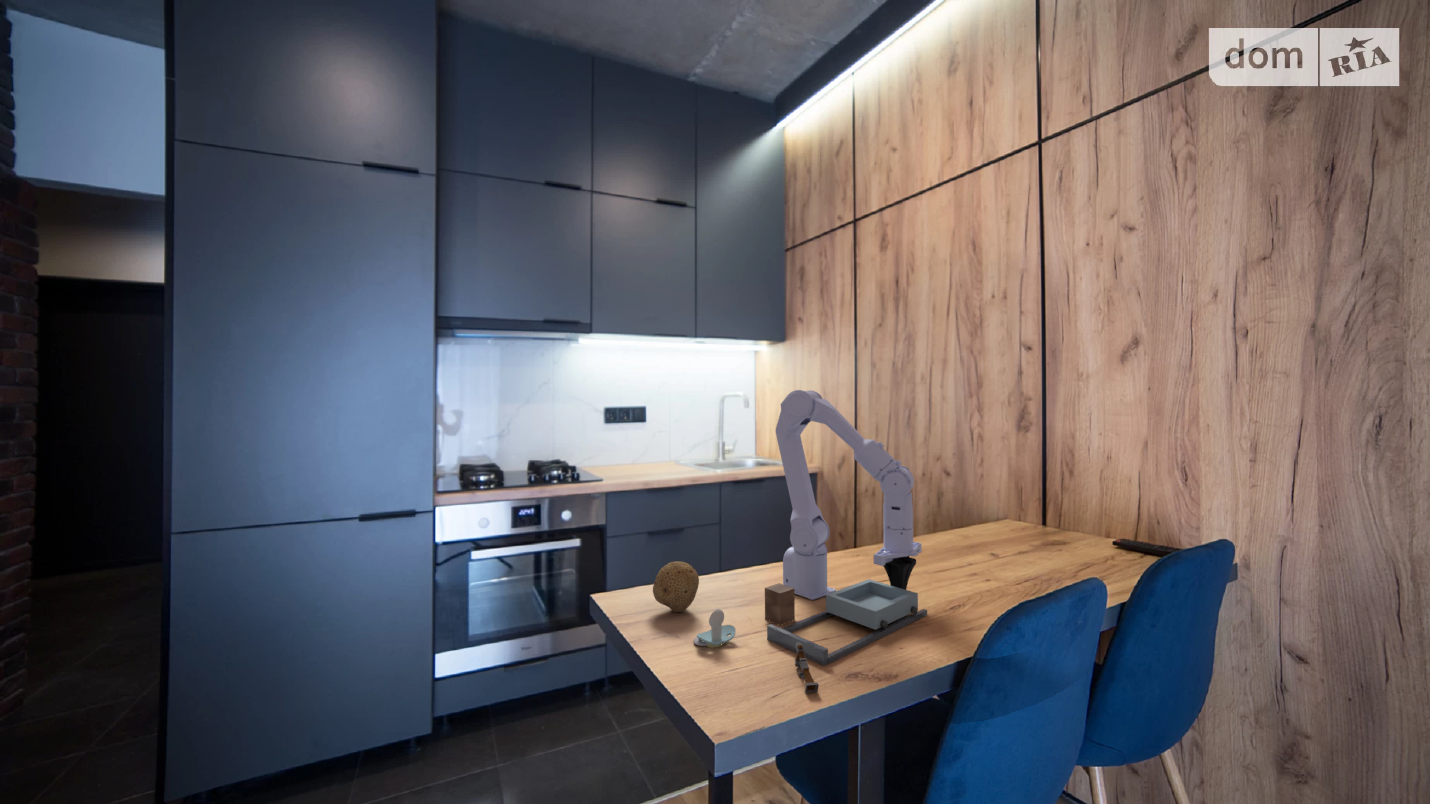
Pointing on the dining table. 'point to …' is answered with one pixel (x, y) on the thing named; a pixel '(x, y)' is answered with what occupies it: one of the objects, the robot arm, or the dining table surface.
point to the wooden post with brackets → (804, 669)
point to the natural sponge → (676, 585)
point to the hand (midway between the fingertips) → (898, 593)
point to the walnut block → (779, 604)
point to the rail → (821, 653)
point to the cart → (872, 603)
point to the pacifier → (716, 631)
